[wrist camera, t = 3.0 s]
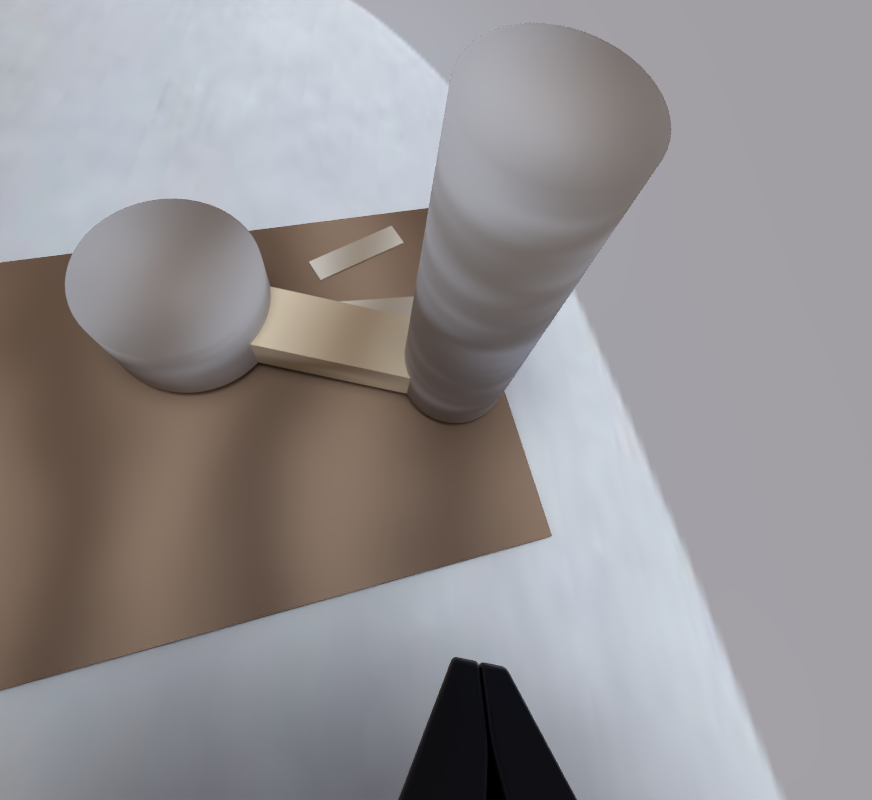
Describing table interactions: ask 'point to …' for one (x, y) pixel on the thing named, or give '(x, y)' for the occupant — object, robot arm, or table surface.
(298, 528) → the stand board
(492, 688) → the robot arm
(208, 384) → the crank handle
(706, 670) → the table surface
